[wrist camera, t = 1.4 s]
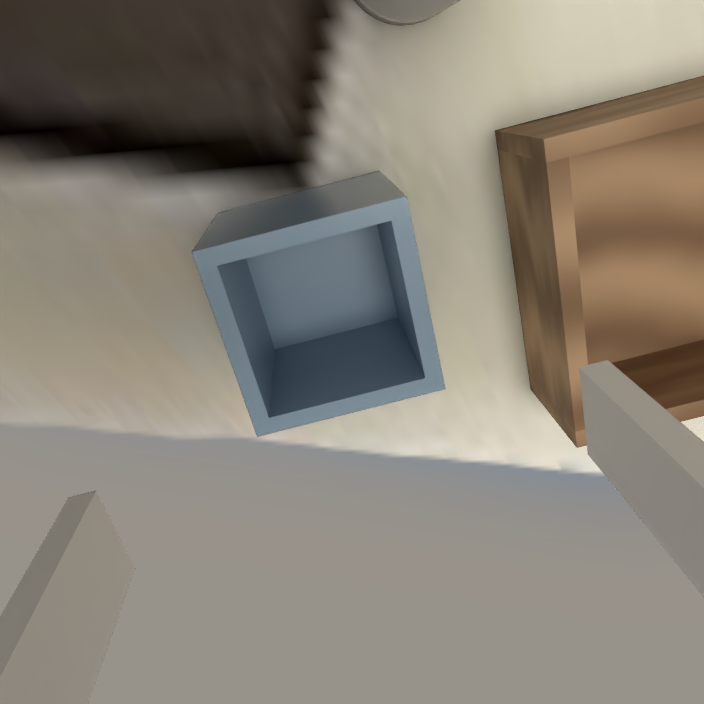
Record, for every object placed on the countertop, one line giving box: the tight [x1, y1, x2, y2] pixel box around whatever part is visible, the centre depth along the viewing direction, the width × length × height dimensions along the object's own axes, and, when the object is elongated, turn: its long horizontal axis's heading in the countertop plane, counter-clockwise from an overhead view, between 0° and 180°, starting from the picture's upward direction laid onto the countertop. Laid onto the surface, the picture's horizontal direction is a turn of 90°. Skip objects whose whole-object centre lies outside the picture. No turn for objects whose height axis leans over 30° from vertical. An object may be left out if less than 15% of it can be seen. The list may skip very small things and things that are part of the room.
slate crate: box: [192, 171, 445, 437], centre depth 31 cm, size 9×9×9 cm
